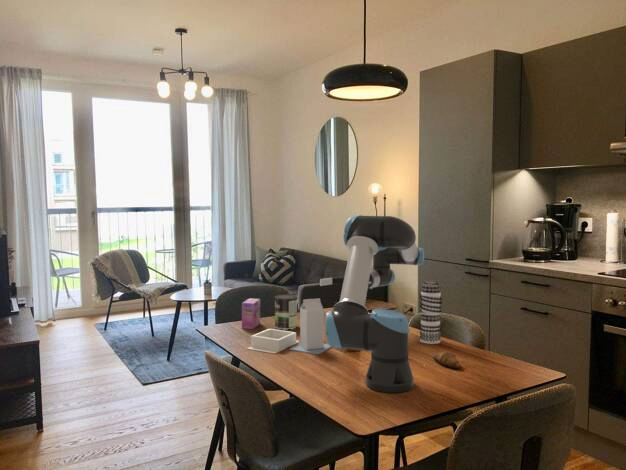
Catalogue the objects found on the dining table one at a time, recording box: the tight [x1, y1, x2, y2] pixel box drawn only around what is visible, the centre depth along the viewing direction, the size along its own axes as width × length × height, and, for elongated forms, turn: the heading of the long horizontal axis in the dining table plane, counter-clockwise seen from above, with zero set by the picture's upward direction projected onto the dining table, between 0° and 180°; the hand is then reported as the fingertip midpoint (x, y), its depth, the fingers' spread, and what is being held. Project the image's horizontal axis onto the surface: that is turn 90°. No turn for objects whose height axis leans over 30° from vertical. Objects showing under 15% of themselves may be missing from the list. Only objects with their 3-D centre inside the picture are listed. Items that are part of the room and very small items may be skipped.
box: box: [241, 297, 261, 330], centre depth 241 cm, size 10×6×12 cm, turn 168°
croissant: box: [432, 350, 461, 370], centre depth 187 cm, size 14×7×5 cm, turn 24°
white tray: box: [246, 328, 300, 355], centre depth 211 cm, size 19×13×4 cm
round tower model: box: [419, 279, 443, 345], centre depth 216 cm, size 9×9×25 cm
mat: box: [288, 343, 332, 355], centre depth 207 cm, size 13×13×1 cm
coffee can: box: [274, 293, 298, 331], centre depth 239 cm, size 10×10×14 cm
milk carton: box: [299, 298, 325, 350], centre depth 206 cm, size 7×7×19 cm
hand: (332, 284), depth 212 cm, fingers open, 13 cm apart
